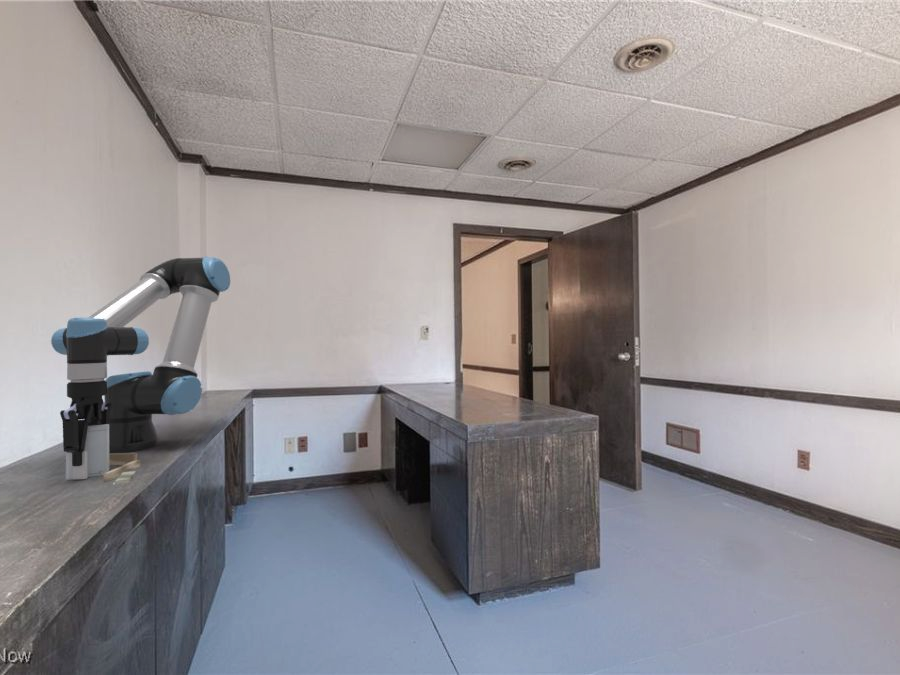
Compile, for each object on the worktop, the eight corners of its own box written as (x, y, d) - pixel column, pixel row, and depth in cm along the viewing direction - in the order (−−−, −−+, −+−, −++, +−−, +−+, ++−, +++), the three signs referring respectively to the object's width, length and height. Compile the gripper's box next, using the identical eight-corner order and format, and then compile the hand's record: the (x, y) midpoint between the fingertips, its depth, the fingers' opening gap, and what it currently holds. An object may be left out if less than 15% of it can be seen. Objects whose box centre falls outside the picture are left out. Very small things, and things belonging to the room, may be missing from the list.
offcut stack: (123, 477, 106) (123, 471, 106) (138, 475, 107) (138, 470, 107) (112, 487, 98) (112, 481, 98) (128, 485, 99) (128, 479, 99)
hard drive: (108, 475, 106) (108, 425, 106) (64, 480, 102) (64, 428, 102) (109, 473, 107) (109, 423, 107) (67, 478, 103) (67, 427, 103)
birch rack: (97, 465, 115) (97, 453, 115) (148, 463, 116) (148, 452, 116) (48, 484, 99) (48, 471, 99) (108, 482, 100) (108, 469, 100)
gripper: (96, 377, 113) (96, 466, 113) (40, 384, 96) (40, 488, 96) (126, 377, 113) (126, 465, 113) (76, 383, 96) (76, 486, 96)
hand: (87, 475), depth 104 cm, fingers open, 4 cm apart
